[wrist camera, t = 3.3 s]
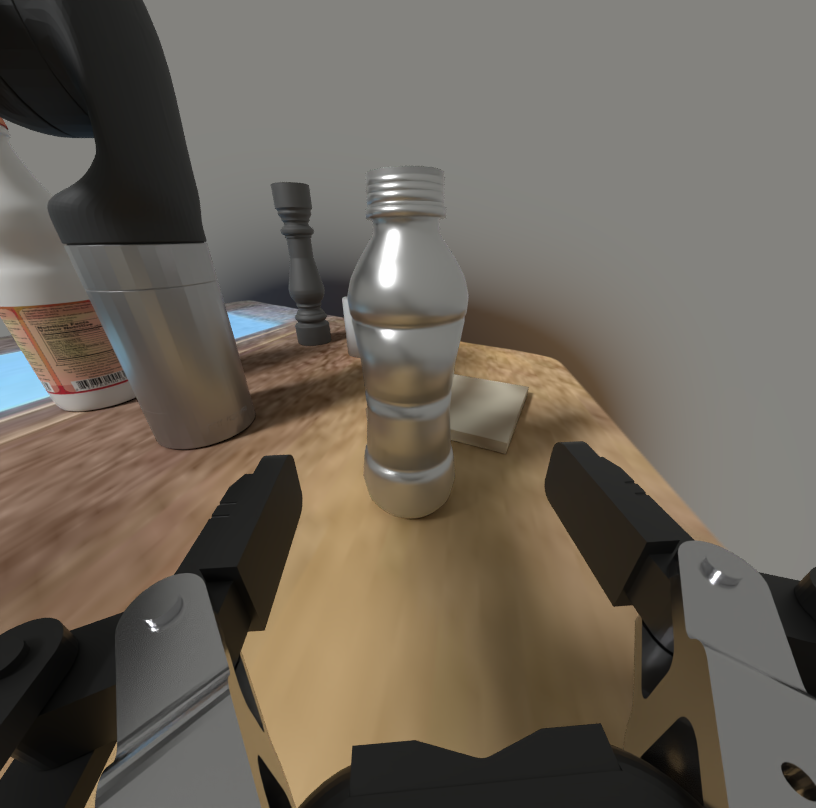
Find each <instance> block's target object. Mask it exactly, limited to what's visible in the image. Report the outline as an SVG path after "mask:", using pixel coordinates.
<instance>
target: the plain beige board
mask: <svg viewBox="0 0 816 808" xmlns="http://www.w3.org/2000/svg"><path fill="white" fill-rule="evenodd" d="M528 388H529V387H526V386H520V385H514V384H508V383H503V382H497V381H491V380H485V379H479V378H473V377H467V376H461V375H455V374H454V377H453V386H452V388H451V393H452V394H451V402H450V430H451V440H454V441H458V442H461V443H465V444H469V445H473V446H477V447H481V448H485V449H488V450H492V451H496V452H500V453H504V454H506V452H507V449H508V446H509V444H510V441H511V438H512V435H513V433H514V430H515V427H516V424H517V422H518V419H519V416H520V414H521V411H522V408H523V405H524V403H525V400H526V397H527V393H528ZM366 416H367V408H366Z"/></svg>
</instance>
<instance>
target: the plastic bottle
mask: <svg viewBox="0 0 816 808" xmlns="http://www.w3.org/2000/svg"><path fill="white" fill-rule="evenodd" d="M365 180H366V193H367V207H368V208H366V219H367V220H372V222H373V234H372V237H371V239H370V241H369V242H368V244H367V246H366V248H365V249H364V251H363V253H362V255H361V257H360V258H359V261H358V263H357V265H356V267H355V270H354V272H353V274H352V276H351V279H350V284H349V290H348V296H347V299H348V305H349V311H350V315H351V316H352V325H353V329H354V333H355V338H356V342H357V346H358V350H359V355H360V359H361V363H362V371H363V378H364V386H365V388H366V400H367V445H366V450H365V456H364V479H365V482H366V486H367V489H368V492H369V495H370V497H371V498H372V500H373V501H374V502H375V503H376V504H377V505H378V506H379V507H380V508H382V509H383V510H385V511H386V512H387V513H389V514H391V515H394V516H397V517H401V518H409V519H410V518H420V517H424V516H427V515H429V514H431V513H433V512H434V511H436V510H437V509H438V508H440V507H441V506H442V505H443V504H444V503H445V502H446V501H447V499H448V497H449V495H450V492H451V489H452V486H453V483H454V479H455V468H454V456H453V450H452V446H451V430H450V402H451V394H452V393H451V388H452V386H453V377H454V369H455V362H456V357H457V353H458V348H459V343H460V339H461V334H462V330H463V325H464V320H465V319H464V316H465V314H466V311H467V304H468V297H469V296H468V290H467V285H466V279H465V277H464V274H463V273H462V270H461V268H460V267H459V264H458V263H457V260H456V259H455V257H454V255H453V253H452V252H451V250H450V249H449V247H448V246H447V244H446V242H445V241H444V239H443V238H442V236H441V234H440V227H439V220H440V219H444V218H446V207H444V171H443V170H441V169H437V168H433V167H424V166H395V167H385V168H379V169H374V170H371V171H368V172H367V173H366V179H365Z"/></svg>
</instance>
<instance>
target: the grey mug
mask: <svg viewBox="0 0 816 808" xmlns="http://www.w3.org/2000/svg"><path fill="white" fill-rule="evenodd" d="M342 301H343V310H344V320H345V329H346V338H347V347H348V354H349V355H350V356H353V357H357V358H360V355H359V350H358V346H357V342H356V338H355V333H354V329H353V325H352V316H351V315H350V311H349V305H348V299H347V297H344V298H343V299H342Z"/></svg>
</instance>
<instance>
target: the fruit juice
mask: <svg viewBox="0 0 816 808" xmlns="http://www.w3.org/2000/svg"><path fill="white" fill-rule="evenodd" d="M9 138H10V134H9V133H8V128H7V126H6V124H5V122H4V121H3V119H2V118H1V117H0V317H1V319H2V320H3V322H4V323H5V325H6V327H7V328H8V330H9V331H10V333H11V335H12V336H13V338H14V339H15V341H16V343H17V344H18V346H19V347H20V349H21V351H22V352H23V354H24V355H25V357H26V359H27V360H28V362H29V364H30V365H31V367H32V368H33V370H34V372H35V373H36V375H37V376H38V378H39V380H40V381H41V383H42V384H43V386H44V388H45V389H46V391H47V392H48V394H49V396H50V397H51V399H52V400H53V402H54V403H55V404H56V405H57V406H58V407H59V408H61V409H63V410H66V411H88V410H95V409H101V408H105V407H109V406H113V405H117V404H120V403H123V402H126V401H129V400H131V399H134V398H136V396H135V394H134V392H133V390H132V388H131V385H130V383H129V381H128V379H127V377H126V375H125V373H124V371H123V369H122V367H121V364H120V362H119V360H118V358H117V356H116V354H115V352H114V350H113V348H112V346H111V343H110V341H109V339H108V337H107V335H106V333H105V331H104V329H103V327H102V325H101V322H100V320H99V318H98V316H97V314H96V312H95V310H94V308H93V306H92V304H91V301H90V299H89V297H88V295H87V293H86V291H85V289H84V287H83V285H82V283H81V281H80V279H79V277H78V275H77V273H76V271H75V268H74V266H73V264H72V262H71V260H70V258H69V256H68V254H67V252H66V250H65V248H64V246H65V245H67V244H63V243H62V242H61V240H60V238H59V236H58V234H57V232H56V230H55V228H54V226H53V223H52V221H51V219H50V216H49V213H48V209H47V204H48V201H49V200H50V199H51V198H52V197H53V195H52V194H51V193H49V191H48V190H47V189H46V188H45V187H44V186H43V185H42V184H41V183H40V182H39V181H38V180H37V178H36V177H35V176H34V175H33V174H32V172H31V171H30V170H29V169H28V167H27V166H26V165H25V164H24V162H23V161H22V160H21V159H20V157H19V156H18V155H17V153H16V152H15V151H14V149H13V148H12V146H11V144H10V142H9Z"/></svg>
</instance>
